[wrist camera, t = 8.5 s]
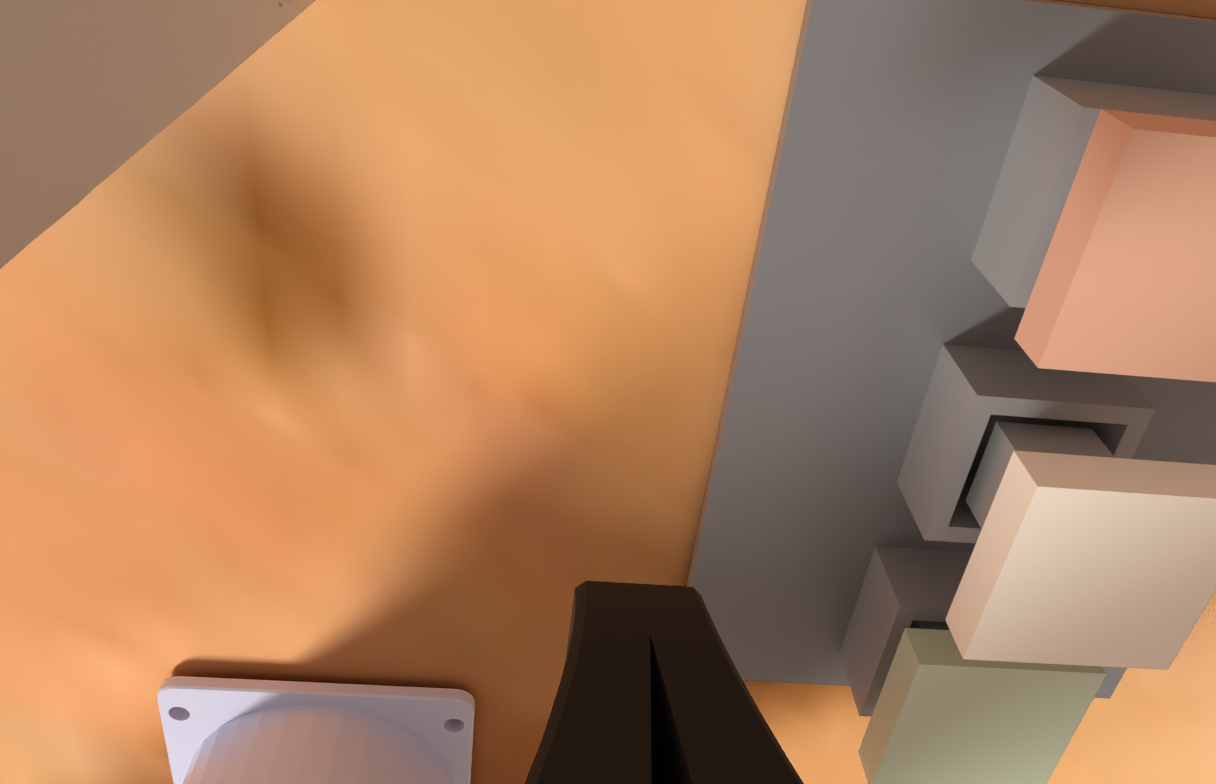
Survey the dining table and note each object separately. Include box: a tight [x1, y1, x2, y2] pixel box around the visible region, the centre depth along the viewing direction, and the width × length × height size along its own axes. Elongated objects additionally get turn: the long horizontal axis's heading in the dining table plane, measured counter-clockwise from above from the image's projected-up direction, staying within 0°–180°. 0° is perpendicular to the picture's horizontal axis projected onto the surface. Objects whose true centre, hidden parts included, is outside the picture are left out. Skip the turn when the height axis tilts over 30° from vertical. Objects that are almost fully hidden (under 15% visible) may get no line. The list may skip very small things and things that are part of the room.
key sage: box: [859, 620, 1107, 784], centre depth 22 cm, size 4×4×4 cm
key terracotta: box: [1014, 109, 1216, 382], centre depth 17 cm, size 4×4×4 cm
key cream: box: [945, 422, 1216, 670], centre depth 19 cm, size 4×4×4 cm
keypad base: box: [686, 0, 1216, 717], centre depth 21 cm, size 17×12×2 cm
